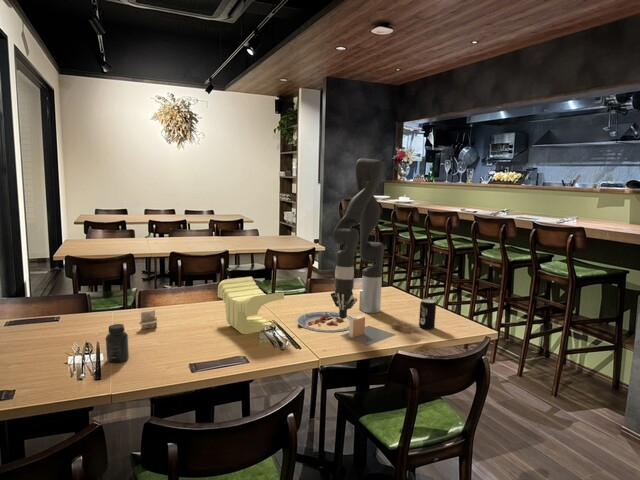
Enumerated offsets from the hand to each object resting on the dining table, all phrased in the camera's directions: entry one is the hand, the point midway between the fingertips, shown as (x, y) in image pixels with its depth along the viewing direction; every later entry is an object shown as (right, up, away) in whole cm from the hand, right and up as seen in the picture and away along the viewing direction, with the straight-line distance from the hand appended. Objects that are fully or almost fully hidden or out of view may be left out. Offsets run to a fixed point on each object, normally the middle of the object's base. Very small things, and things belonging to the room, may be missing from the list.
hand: (342, 318), depth 184 cm
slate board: (+10, -8, -4) cm, 13 cm away
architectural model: (-79, -5, +1) cm, 79 cm away
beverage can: (+37, -6, +11) cm, 39 cm away
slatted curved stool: (-39, -5, +5) cm, 40 cm away
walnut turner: (+22, -7, +5) cm, 23 cm away
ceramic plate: (-6, -5, +11) cm, 14 cm away
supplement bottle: (-78, -9, -31) cm, 84 cm away
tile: (+5, -6, -5) cm, 9 cm away
